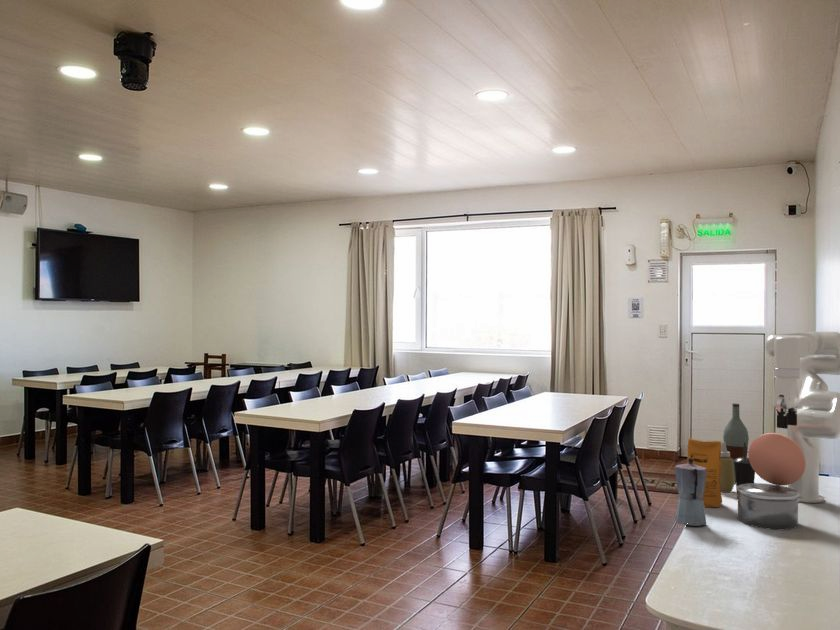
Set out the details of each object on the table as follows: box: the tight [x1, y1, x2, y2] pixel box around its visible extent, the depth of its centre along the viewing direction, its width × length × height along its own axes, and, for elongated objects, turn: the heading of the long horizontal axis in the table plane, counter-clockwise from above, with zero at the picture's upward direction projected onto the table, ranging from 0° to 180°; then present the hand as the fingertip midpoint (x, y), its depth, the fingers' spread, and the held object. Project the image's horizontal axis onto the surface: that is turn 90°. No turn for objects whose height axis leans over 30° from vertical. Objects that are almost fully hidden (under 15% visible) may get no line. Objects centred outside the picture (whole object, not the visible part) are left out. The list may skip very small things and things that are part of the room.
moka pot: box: [674, 458, 707, 527], centre depth 221 cm, size 10×15×20 cm, turn 174°
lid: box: [747, 432, 806, 486], centre depth 230 cm, size 17×17×3 cm
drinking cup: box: [733, 442, 756, 500], centre depth 251 cm, size 8×8×20 cm
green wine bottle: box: [722, 403, 750, 483], centre depth 280 cm, size 9×9×30 cm
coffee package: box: [686, 438, 723, 508], centre depth 245 cm, size 10×12×22 cm
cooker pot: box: [736, 482, 799, 530], centre depth 224 cm, size 18×18×10 cm
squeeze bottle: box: [720, 441, 736, 493], centre depth 263 cm, size 8×8×18 cm
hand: (786, 426), depth 236 cm, fingers open, 8 cm apart
